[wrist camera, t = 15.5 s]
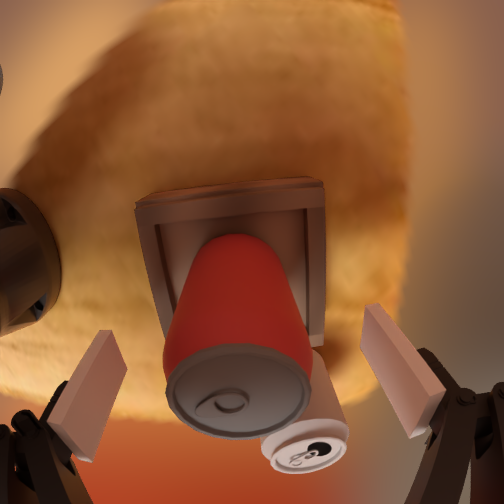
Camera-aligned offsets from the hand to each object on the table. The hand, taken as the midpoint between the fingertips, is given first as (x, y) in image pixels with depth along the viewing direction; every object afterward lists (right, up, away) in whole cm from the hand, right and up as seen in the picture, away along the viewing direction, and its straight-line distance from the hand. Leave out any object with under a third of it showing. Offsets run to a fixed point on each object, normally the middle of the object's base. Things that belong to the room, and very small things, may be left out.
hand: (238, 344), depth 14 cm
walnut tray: (-1, +4, +11) cm, 12 cm away
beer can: (0, +3, +7) cm, 8 cm away
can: (+5, -8, +16) cm, 18 cm away
